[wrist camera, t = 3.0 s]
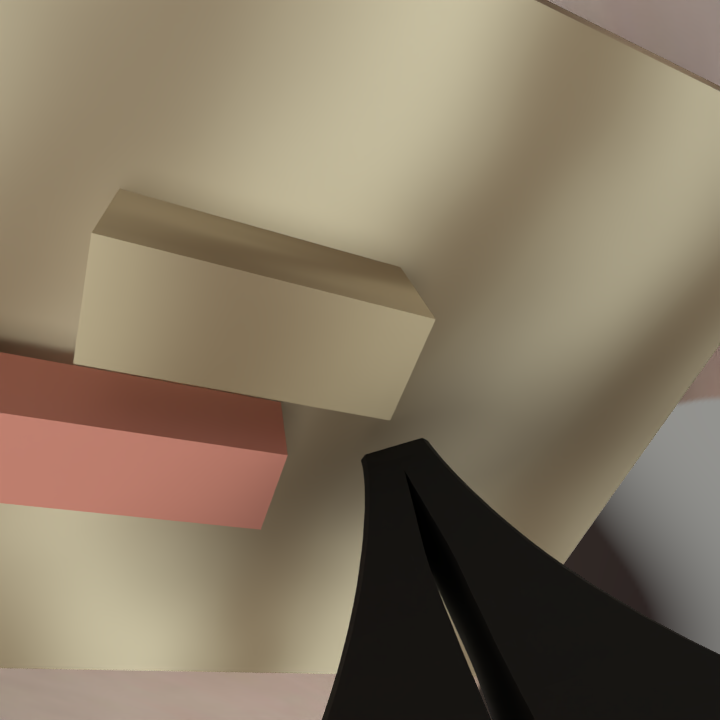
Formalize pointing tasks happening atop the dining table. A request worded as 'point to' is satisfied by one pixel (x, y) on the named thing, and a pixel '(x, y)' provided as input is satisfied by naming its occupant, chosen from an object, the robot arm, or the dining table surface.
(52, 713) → the dining table surface
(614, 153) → the lid
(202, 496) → the pink bar
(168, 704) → the dining table surface
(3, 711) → the dining table surface
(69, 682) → the dining table surface
